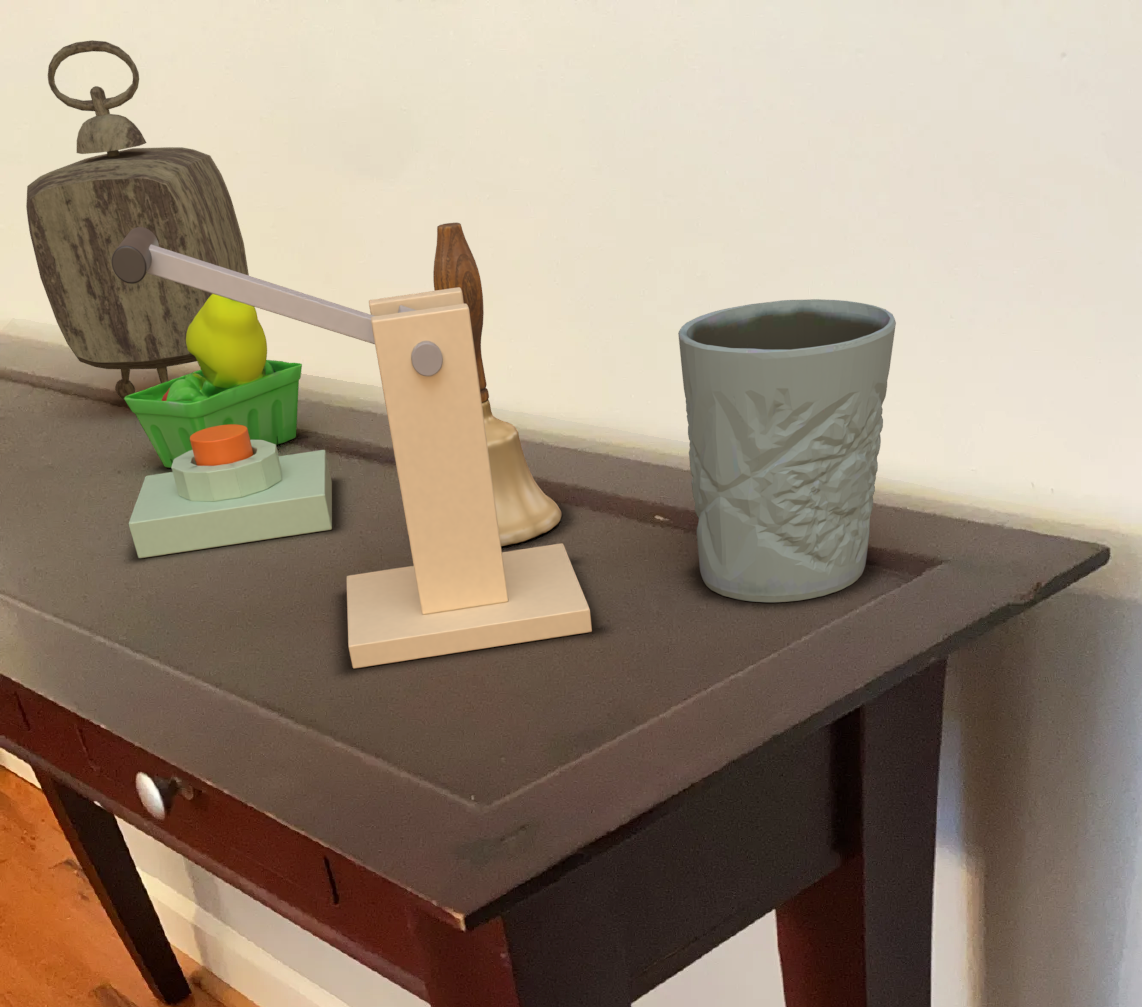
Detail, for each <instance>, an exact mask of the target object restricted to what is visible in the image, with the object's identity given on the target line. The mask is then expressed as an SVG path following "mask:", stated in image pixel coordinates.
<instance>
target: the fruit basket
mask: <svg viewBox="0 0 1142 1007" xmlns="http://www.w3.org/2000/svg"><path fill="white" fill-rule="evenodd" d="M186 345H187V350H188V351H189V352H190V353H191V354H193V355H194V356H195V357H196V359H197V361H196V362H197V364H198V366H199V368H200V369H199V370H195V371H192V372H190V373H188V374H184V375H182V376H178V377H176V378H173V379H170V380H168V382H164V383H162V384H161V383H159V384H157V385H154V386H151V387H147V388H144V389H143V390H139V391H135V393H133V394H130V395H127V396H126V397H125V398H124V399H123V400H124V401H125V403H126V404H127V407H128V408H129V409H130V411H131V412H132V413H133V414H134V415H135V416H136V418H137V421H138V422H139V424H140V425H141V427H142V429H143V431H144V433H145V435H146V436H147V438H148V440H149V442H150V443H151V445H152V447H153V449H154V451H155V452H156V454H157V456H158V458H159V460H160V462H161V463H162V465H163V467H165V468H169V469H172V468H171V466H172V463H173V460H174V459H175V458H177V457H179V456H181V455H182V454H184V453H186V452H188V451H191V450H192V446H191V442H190V436H191V435H192V434H194V433H196V432H198V431H200V430H203V429H206V428H210V427H214V426H220V425H230V424H236V425H243V426H246V427H247V429H248V433H249V437H250V440H264V441H267V442H270V443H273V444H276V446H277V445H280V444H285V443H287V442H289V441H292V440H293V439H296V437H297V428H298V426H297V425H298V407H299V406H298V405H299V389H300V388H299V387H300V386H299V385H300V380H301V376H302V367H303V364H302V363H300V362H288V361H283V360H275V359H273V360H271V359H268V358H267V357H268V343H267V336H266V333H265V331H264V328H263V326H262V324H261V322H260V320H259V318H258V312H257V310H256V307H254V306H251V305H247V304H244V303H241V302H238V301H235V300H231V299H228V298H225V297H222V296H219V295H215V294H212V295H211V296H210V297H209V298H208V299H207V301H206V302H205V304H204V305H203V307H202V308H201V309H200V311H199V312H198V313H197V315H196V316H195V318H194V319H193V321H192V323H191V324H190V325H189V327H188V330H187V333H186Z"/></svg>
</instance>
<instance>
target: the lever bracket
mask: <svg viewBox="0 0 1142 1007" xmlns="http://www.w3.org/2000/svg"><path fill="white" fill-rule="evenodd" d="M400 305H402V306H405V307H408V308H411V309H414V310H416V311H409V312H402V313H398V310H399V306H400ZM368 306H369V314H370V315H373V316H374V317H371V324H372V330H373V336H374V341H375V344H374V347H375V352H376V357H377V359H376V360H377V364H378V369H379V375H380V381H381V387H382V392H383V398H384V399H383V400H384V404H385V409H386V416H387V421H388V427H389V432H390V438H391V439H390V440H391V444H392V450H393V456H394V461H395V466H396V472H397V479H398V484H399V489H400V495H401V500H402V506H403V512H404V518H405V523H406V530H407V534H408V540H409V541H408V542H409V547H410V552H411V558H412V563H413V565H409V566H403V567H396V568H390V569H383V570H376V571H369V572H362V573H357V574H350V575H349V574H348V575H346V578H345V579H346V607H347V608H346V609H347V610H346V611H347V643H348V644H347V646H348V647H347V648H348V652H349V656H350V662H351V666H352V668H353V669H361V668H367V667H373V666H379V665H387V664H393V663H399V662H405V661H412V660H418V659H425V658H431V657H437V656H445V655H451V654H457V653H463V652H471V651H477V650H483V649H489V648H494V647H496V648H497V647H501V646H508V645H514V644H515V645H516V644H521V643H528V642H535V641H541V640H547V639H555V638H560V637H567V636H573V635H579V634H587V633H592V632H593V626H592V617H591V616H592V615H591V609H590V607H589V606H590V605H589V603H588V601H587V599H586V596H585V594H584V591H583V589H582V587H581V585H580V582H579V580H578V577H577V575H576V572H575V570H574V568H573V565H572V562H571V560H570V557H569V555H568V552H567V550H566V547H565V545H564V543H561V542H559V543H554V544H549V545H547V544H546V545H541V546H533V547H528V548H523V549H522V548H521V549H515V550H507V551H502V546H501V543H500V535H499V528H498V520H497V513H496V506H495V498H494V491H493V483H492V476H491V468H490V461H489V454H488V446H487V439H486V431H485V424H484V417H483V409H482V402H481V394H480V387H479V379H478V372H477V365H476V357H475V350H474V342H473V335H472V328H471V320H470V313H469V308H468V305H467V304H464V302H463V294H462V290H461V288H460V287H458V288H451V289H444V290H437V291H434V290H430V291H424V292H417V293H409V294H403V295H396V296H387V297H381V298H374V299H373V298H372V299H369V300H368Z"/></svg>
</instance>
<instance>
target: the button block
mask: <svg viewBox="0 0 1142 1007" xmlns="http://www.w3.org/2000/svg"><path fill="white" fill-rule="evenodd" d="M250 442H251V446H252V450H253V454H254V455H253V456H251V457H249V458H247V459H244V460H241V461H237V462H234V463H230V464H223V465H217V466H197V465H196V461H195V457H194V453H193V450H191V451H188V452H186V453H184V454H182V455H181V456H179V457H177V458H175V459H174V460H173V463H172V466H171V468H170V469H171V471H170V472H163V473H156V474H150V475H145V477H144V479H143V482H142V485H141V488H140V491H139V494H138V496H137V499H136V502H135V504H134V507H133V510H132V513H131V515H130V518H129V521H128V524H127V525H128V528H129V532H130V534H131V539H132V541H133V542H132V543H133V545H134V548H135V552H136V554H137V558H138V559H144V558H145V559H146V558H151V557H158V556H165V555H173V554H178V553H185V552H192V551H198V550H206V549H212V548H218V547H225V546H232V545H233V546H234V545H238V544H246V543H253V542H258V541H264V540H271V539H278V538H285V537H291V536H298V535H305V534H313V533H318V532H325V531H331V530H333V481H332V480H333V479H332V475H331V471H330V467H329V461H328V457H327V451H326V450H325V449H320V450H313V451H305V452H300V453H299V452H298V453H293V454H284V455H279V451H278V447H277V445H276V444H273V443H270V442H267V441H264V440H250Z"/></svg>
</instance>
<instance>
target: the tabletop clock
mask: <svg viewBox="0 0 1142 1007" xmlns="http://www.w3.org/2000/svg"><path fill="white" fill-rule="evenodd" d="M91 52H96V53H97V52H100V53H108V54H110V55H113V56H115V57H117V58H119V59H120V60H122V61H123V62H124V63H125V64H126V65H127V67H128V68H129V70H130V72H131V74H132V82H131V84H130V85H129V86H128V87H127V89H126V90H125V91H123V92H121V93H119V94H117V95H115V96H111V97H107V96H106V93H105V90H104V89H103V88H102V86H101V87H100V86H98V85H94V86H93V87H92V88H90V91H89V95H90V99H87V100H86V99H85V100H83V99H79V98H74V97H69V96H68V95H67V94H64V93H63V92H61V91H60V90H59V88H58V86H57V83H56V81H55V78H56V77H55V76H56V73H57V70H58V68H59V66H61V63H62V62H64V61H65V60H66V59H68V58H69V57H71V56H74V55H78V54H83V53H91ZM47 81H48V86H49V88H50V90H51V92H52V93H53V94H54V97H56V99H58V100H59V101H60V102H61V103H62V104H64V105H65V106H67V107H69V108H72V109H76V110H78V111H84V112H94V114H95V116H93V117H90V118H88V119H86V120H85V121H84V122H83V123H82V124H81V126H80V128H79V130H78V132H77V137H76V154H80V155H89V154H99V153H103V154H99V155H95V156H91V157H87V158H84V159H81V160H78V161H75V162H73V163H70V164H68V165H65V166H62V167H59V168H56V169H54V170H51V171H48V172H47V173H44V174H42V175H40V176H39V177H37V178H36V179H34V180H33V181H32V182H30V184H28V185H26V205H25V206H26V208H25V209H26V215H27V224H28V231H29V235H30V236H29V237H30V240H31V244H32V249H33V252H34V256H35V261H36V265H37V269H38V273H39V278H40V281H41V283H42V285H43V288H44V291H45V295H46V297H47V299H48V302H49V306H50V307H51V310H52V313H53V315H54V318H55V321H56V324H57V326H58V328H59V330H60V332H61V334H62V336H63V338H64V340H65V342H66V344H67V346H68V347H69V348H70V350H71V351H72V353H73V354H74V355H75V357H76V358H77V360H78V361H79V363H82V364H86V365H88V366H91V367H94V368H99V369H105V370H120V374H121V379H119V380H117V382H116V383H115V386H114V387H115V388H114V389H115V393H116V394H117V395H118V397H119V398H120V399H122V400H124V398H125V397H126V396H127V395H130V394H133V393H136V386H135V385H134V384H133V383H132V381H131V380H130V373H131V370H156V372H157V375H158V379H159V382H160V383H159V384H162V383H164V382H168V381H169V376H168V375H169V374H168V367H174V366H181V365H186V364H191V363H196V362H197V359H196V357H195V356H194V355H193V354H191V353H190V352H189V351H188V350H187V345H186V333H187V330H188V327H189V325H190V324H191V323H192V321H193V319H194V318H195V316H196V315H197V313H198V312H199V311H200V309H201V308H202V307H203V305H204V304H205V302H206V301H207V299H208V298H209V297H210V296H211V295H212V293H209V292H206V291H203V290H200V289H196V288H193V287H190V286H187V285H184V284H180V283H177V282H174V281H171V280H168V279H164V278H161V277H158V276H155V275H152V274H149V273H146V275H145V277H144V278H143V279H142V280H141V281H140V282H138V283H134V284H129V283H126V282H124V281H122V280H120V279H119V278H118V277H117V276H116V274H115V273H114V271H113V268H112V264H111V259H112V255H113V253H114V251H115V250H116V249H117V247H118V246H119V245H120V244H121V242H122V241H123V240H124V238H125V237H126V236H127V234H128V233H129V232H130V231H131V230H132V229H134V228H136V227H143V228H146V229H148V230H150V231H151V232H152V233H153V234H154V235H155V236H156V238H157V240H158V244H159V247H161V248H164V249H167V250H170V251H173V252H176V253H179V254H182V255H186V256H189V257H192V258H195V259H198V260H201V261H204V262H207V263H211V264H214V265H217V266H220V267H223V268H226V269H229V270H232V271H236V272H239V273H242V274H245V275H248V276H250V273H249V268H248V262H247V261H248V260H247V255H246V249H245V243H244V238H243V235H242V231H241V229H240V225H239V224H240V223H239V221H238V218H237V214H236V211H235V207H234V204H233V201H232V198H231V194H230V192H229V189H228V187H227V184H226V182H225V180H224V177H223V175H222V173H221V170H220V169H219V168H218V166H217V164H216V163H215V161H214V159H213V158H212V155H210V154H207V153H204V152H203V151H199V150H197V149H193V148H188V147H179V146H178V147H175V146H174V147H173V146H172V147H171V146H169V147H168V146H165V147H140V146H144V145H146V144H147V141H146V139H145V137H144V135H143V133H142V132H141V130H140V129H139V128H138V126H137V125H136V124H135V123H134V122H133V121H132V120H130V119H129V118H128V117H127V116H123V115H121V114H114V113H111V112H110V110H113V109H115V108H118V107H121V106H122V105H124V104H125V103H127V102H129V101H131V99H132V100H133V97H134V96H135V94H136V92H137V90H138V88H139V84H140V74H139V69H138V68H137V65H136V63H135V61H133V59H132V57H131V56H130V55H129V53H127V52H126V51H125V50H123V49H122V48H121V47H120V46H118V45H115V44H113V43H110V42H108V41H103V40H84V41H77V42H73V43H71V44H67V45H64V46H63V47H62V48H60V49H59V50H57V52H56V53H55V54H54V55H53V56H52V58H51V60H50V61H49V64H48V69H47Z"/></svg>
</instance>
